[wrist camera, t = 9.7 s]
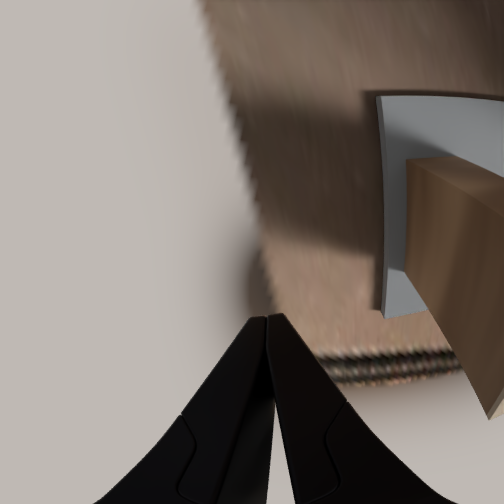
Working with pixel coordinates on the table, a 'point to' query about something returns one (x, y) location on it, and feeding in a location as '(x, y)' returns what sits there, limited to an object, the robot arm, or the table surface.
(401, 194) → the mat
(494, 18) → the table surface
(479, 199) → the slab
